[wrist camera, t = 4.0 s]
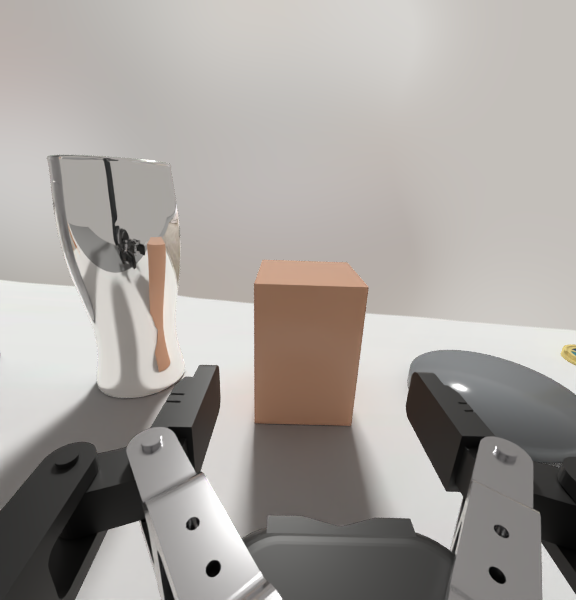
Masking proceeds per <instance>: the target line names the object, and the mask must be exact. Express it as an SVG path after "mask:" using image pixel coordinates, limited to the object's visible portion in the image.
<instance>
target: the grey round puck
mask: <svg viewBox="0 0 576 600" xmlns="http://www.w3.org/2000/svg"><path fill="white" fill-rule="evenodd" d="M414 372H430V373H434V374H435V375H436V376H437V377H438V378H439V379H440V381H441V382H442V383H443V384H444V385H448V386H449V387H451V388H452V389H454V390H455V391H457V392H458V393H459V394H460V395H461V396H462V397H463V398H464V400H465V401H466V402H467V404H469V405H470V407H471V408H472V409H473V411H474V412H475V413H476V414H477V415H478V416H479V417H480V418H481V420H482V421H483V422H484V423H485V424H486V426H487V427H488V428H489V429H490V430H491V431H492V433H493V434H494V435H495V436H496V437H499V438H503V439H506V440H508V441H510V442H512V443H514V444H516V445H518V446H519V447H520V448H522V449H523V450H524V451H525V452H526V453H527V454H528V455H529V456H530V457H531V459H532V461H535V462H544V463H563V460H564V459H565V458H567V457H576V395H575V394H574V393H572V392H571V391H570V390H568V389H567V388H565V387H564V386H562V385H561V384H559V383H557V382H556V381H554V380H552V379H551V378H549V377H547V376H545V375H543V374H541V373H539V372H536V371H534V370H532V369H530V368H527V367H525V366H522V365H520V364H517V363H514V362H511V361H508V360H505V359H502V358H498V357H494V356H491V355H486V354H481V353H476V352H470V351H461V350H438V351H432V352H428V353H424V354H422V355H420V356H418V357H417V358H415V359H414V360H413V362H412V363H411V365H410V370H409V375H408V380H407V381H408V388H409V386H410V381H411V377H412V374H413V373H414Z"/></svg>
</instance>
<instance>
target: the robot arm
mask: <svg viewBox="0 0 576 600" xmlns="http://www.w3.org/2000/svg"><path fill="white" fill-rule="evenodd" d="M0 356H1V355H0ZM219 409H220V377H219V367H218V365H199V367H198V369H197V371H196V372H195V374H194V376H193V377H184V378H183V379H182V380H181V381H179V382H178V383H177V384H176V385H175V386H174V388H173V390H172V392H171V394H170V395H169V397H168V398H167V400H166V402H165V404H164V405H163V407H162V409H161V411H160V412H159V414H158V416H157V417H156V419H155V421H154V423H153V424H152V426H151V428H150V429H147V430H144V431H142V432H140V433H139V434H137V435H136V436H135V437H133V438H132V439H131V441H130V442H129V444H128V446H127V447H124V448H121V449H117V450H112V451H108V452H103V453H98V454H97V451H96V448H95V446H94V445H93V444H91V443H87V442H76V443H72V444H68V445H66V446H63V447H61V448H59V449H57V450H55V451H54V452H52V453H51V454H49V455H48V456H47V457H46V458H45V459H44V460H43V461H42V462H41V463H40V465H39V466H38V467H37V468H36V469H35V471H34V472H33V473H32V474H31V475H30V477H29V478H28V479H27V480H26V481H25V483H24V484H23V485H22V486H21V487H20V489H19V490H18V491H17V492H16V493H15V495H14V496H13V497H12V498H11V499H10V501H9V502H8V503H7V504H6V505H5V507H4V508H3V509H2V510H1V511H0V600H75V598H76V596H77V594H78V592H79V590H80V588H81V586H82V584H83V581H84V579H85V577H86V575H87V573H88V571H89V569H90V567H91V564H92V562H93V560H94V558H95V556H96V554H97V552H98V550H99V548H100V545H101V543H102V541H103V539H104V537H105V535H106V533H107V531H108V530H109V529H112V528H115V527H119V526H122V525H126V524H129V523H132V522H136V521H139V523H140V526H141V529H142V533H143V536H144V539H145V543H146V546H147V549H148V553H149V556H150V559H151V563H152V566H153V569H154V573H155V577H156V580H157V585H158V589H159V593H160V597H161V600H542V561H541V543H542V544H543V546H544V547H545V549H546V550H547V552H548V553H549V555H550V556H551V558H552V559H553V561H554V562H555V564H556V565H557V567H558V568H559V570H560V571H561V573H562V574H563V576H564V577H565V579H566V580H567V582H568V583H569V585H570V586H571V588H572V589H573V591H574V592H575V594H576V457H567V458H565V459H564V460H563V463H562V465H561V467H560V468H558V467H554V466H550V465H546V464H542V463H539V462H535V461H532V459H531V457H530V456H529V455H528V454H527V453H526V452H525V451H524V450H523V449H522V448H520V447H519V446H518V445H516V444H514V443H512V442H510V441H508V440H506V439H503V438H499V437H496V436H495V435H494V434H493V433H492V431H491V430H490V429H489V428H488V427H487V426H486V424H485V423H484V422H483V421H482V420H481V418H480V417H479V416H478V415H477V414H476V413H475V412H474V411H473V409H472V408H471V407H470V405H469V404H467V402H466V401H465V400H464V398H463V397H462V396H461V395H460V394H459V393H458V392H457V391H455V390H454V389H452V388H451V387H449V386H448V385H444V384H443V383H442V382H441V381H440V379H439V378H438V377H437V376H436V375H435V374H434V373H430V372H414V373H413V374H412V377H411V381H410V386H409V392H408V397H407V402H406V413H407V417H408V419H409V421H410V423H411V425H412V427H413V429H414V431H415V433H416V435H417V437H418V438H419V440H420V442H421V444H422V446H423V448H424V450H425V452H426V454H427V456H428V457H429V459H430V461H431V463H432V465H433V467H434V469H435V471H436V473H437V475H438V476H439V478H440V480H441V482H442V484H443V486H444V488H445V490H446V491H449V492H461V494H462V496H463V499H462V502H461V506H460V510H459V514H458V518H457V522H456V527H455V531H454V535H453V539H452V543H451V547H450V550H448V549H447V548H446V547H444V546H443V545H441V544H439V543H438V542H436V541H434V540H432V539H430V538H428V537H426V536H424V535H421V534H419V533H415V531H414V528H413V525H412V523H411V520H410V519H405V518H372V519H369V520H365V521H361V522H357V523H353V524H349V525H346V526H336V525H332V524H329V523H326V522H322V521H319V520H315V519H312V518H308V517H305V516H287V515H268V517H267V528H264V529H261V530H258V531H255V532H253V533H251V534H249V535H247V536H245V537H244V538H242V539H241V537H240V535H239V534H238V532H237V530H236V528H235V527H234V525H233V523H232V521H231V520H230V518H229V516H228V514H227V513H226V511H225V509H224V507H223V506H222V504H221V502H220V500H219V499H218V497H217V495H216V493H215V492H214V490H213V488H212V486H211V485H210V483H209V481H208V479H207V478H206V476H205V475H204V473H203V472H200V471H201V468H202V464H203V461H204V458H205V455H206V452H207V448H208V445H209V442H210V439H211V436H212V432H213V429H214V426H215V423H216V420H217V416H218V413H219Z"/></svg>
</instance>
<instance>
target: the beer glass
mask: <svg viewBox="0 0 576 600" xmlns="http://www.w3.org/2000/svg"><path fill="white" fill-rule="evenodd" d="M47 160H48V165H49V172H50V181H51V191H52V199H53V207H54V214H55V220H56V226H57V231H58V236H59V239H60V244H61V248H62V252H63V256H64V258H65V261H66V264H67V267H68V270H69V272H70V275H71V278H72V280H73V282H74V285H75V287H76V290H77V292H78V294H79V297H80V299H81V301H82V304H83V306H84V308H85V311H86V313H87V315H88V318H89V320H90V323H91V325H92V328H93V331H94V335H95V339H96V344H97V356H98V359H97V385H98V387H99V389H100V390H101V391H102V392H103V393H104V394H106V395H109V396H112V397H116V398H138V397H144V396H148V395H152V394H155V393H158V392H160V391H162V390H165V389H167V388H168V387H170V386H172V385H173V384H174V383H176V382H177V381H178V380H179V379H180V378H181V377H182V375H183V373H184V371H185V362H184V358H183V355H182V352H181V349H180V345H179V342H178V338H177V332H176V304H177V294H178V285H179V274H180V255H181V244H180V227H179V218H178V210H177V204H176V197H175V192H174V185H173V179H172V173H171V165H170V164H168V163H164V162H157V161H150V160H141V159H131V158H120V157H106V156H88V155H50V156H48V157H47Z"/></svg>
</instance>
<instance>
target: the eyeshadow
mask: <svg viewBox="0 0 576 600" xmlns="http://www.w3.org/2000/svg"><path fill="white" fill-rule="evenodd" d="M561 356H562V357H563V358H564V359H565V360H567V361H568V362H570V363H572V364H574V365H576V345H565V346H564V347H563V349H562V352H561Z"/></svg>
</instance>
